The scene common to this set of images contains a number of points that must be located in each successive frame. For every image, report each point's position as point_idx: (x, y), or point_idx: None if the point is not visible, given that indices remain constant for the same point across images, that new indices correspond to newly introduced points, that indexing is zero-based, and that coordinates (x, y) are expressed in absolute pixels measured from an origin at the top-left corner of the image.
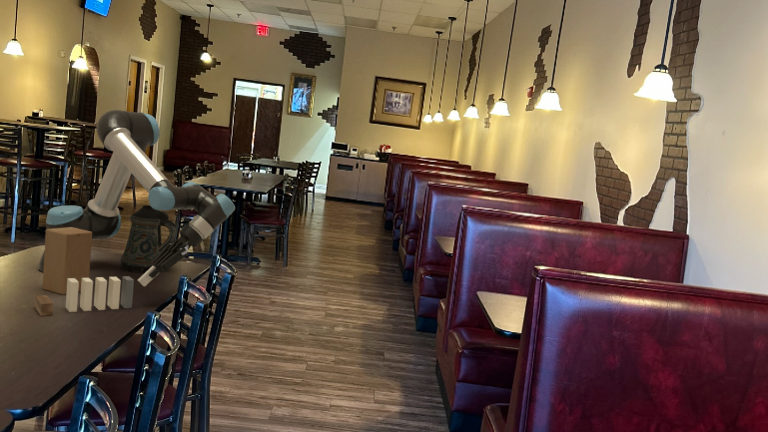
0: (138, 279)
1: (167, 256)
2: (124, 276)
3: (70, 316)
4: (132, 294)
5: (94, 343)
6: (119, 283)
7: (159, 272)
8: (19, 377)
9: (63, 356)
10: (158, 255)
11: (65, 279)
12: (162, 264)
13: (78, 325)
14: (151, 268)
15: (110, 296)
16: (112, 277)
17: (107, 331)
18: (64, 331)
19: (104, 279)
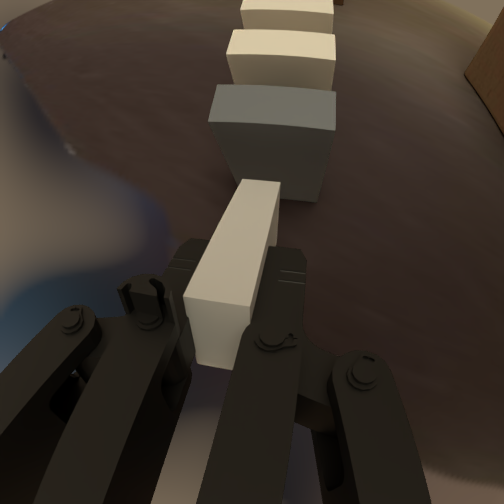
0: (273, 185)
1: (50, 491)
2: (333, 102)
3: (227, 21)
4: (228, 165)
5: (47, 60)
6: (230, 62)
7: (198, 356)
8: (39, 10)
9: (45, 31)
10: (414, 495)
11: (485, 45)
12: (48, 338)
13: (147, 31)
14: (217, 268)
15: None
16: (317, 41)
17: (75, 78)
18: (129, 15)
19: (277, 7)
